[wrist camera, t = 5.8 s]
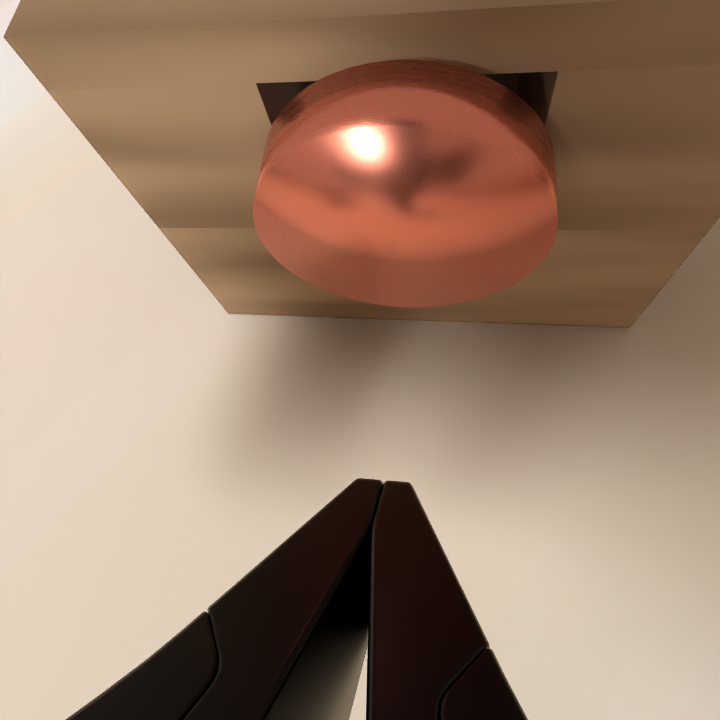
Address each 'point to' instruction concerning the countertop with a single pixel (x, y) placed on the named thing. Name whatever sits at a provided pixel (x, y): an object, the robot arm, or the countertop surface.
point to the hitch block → (401, 42)
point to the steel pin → (408, 185)
